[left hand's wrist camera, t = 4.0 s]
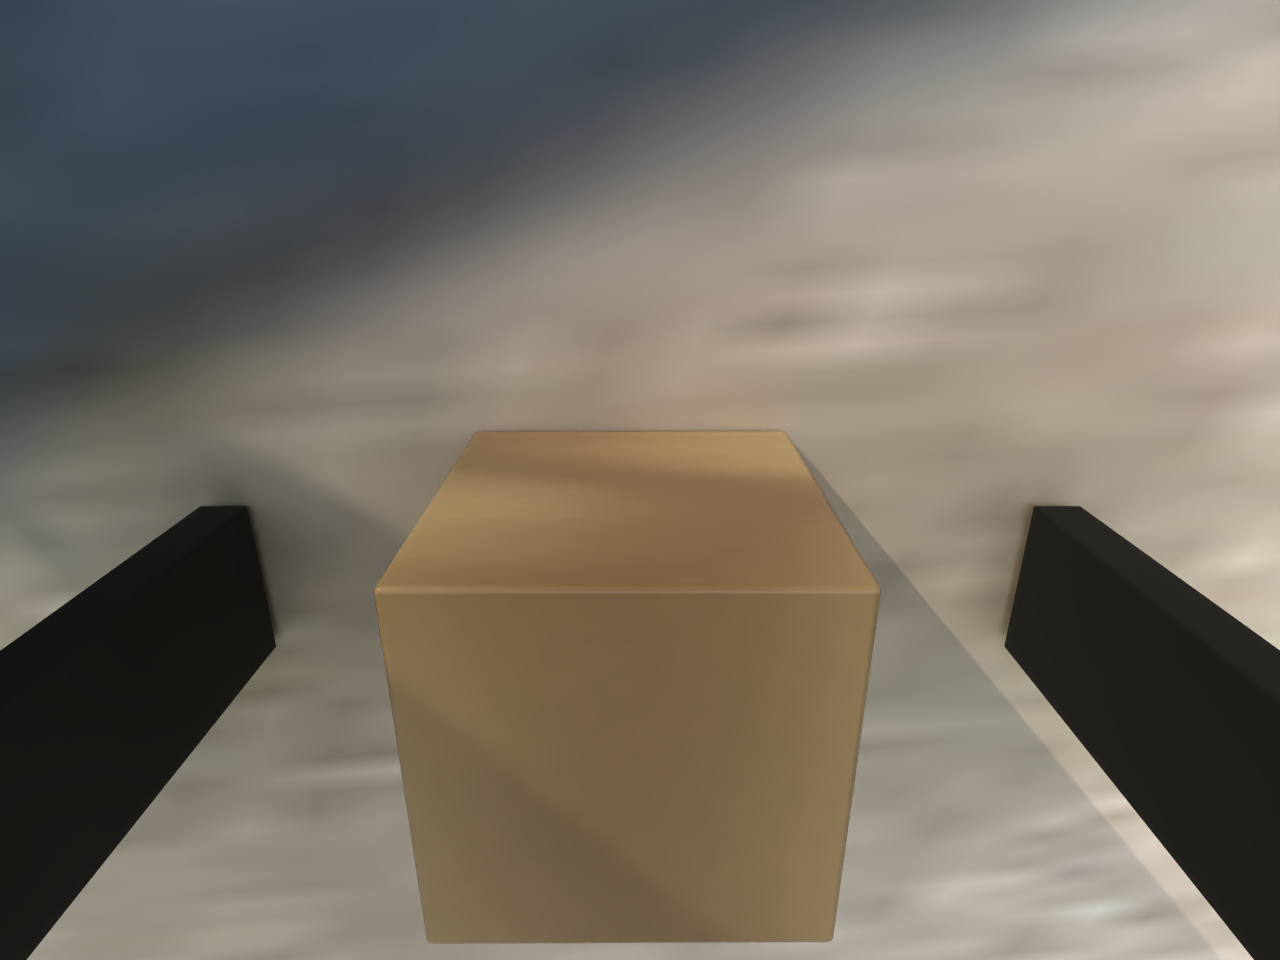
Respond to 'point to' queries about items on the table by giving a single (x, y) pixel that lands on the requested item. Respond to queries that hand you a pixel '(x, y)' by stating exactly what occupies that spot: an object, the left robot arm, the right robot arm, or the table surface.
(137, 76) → the table surface
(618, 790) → the block
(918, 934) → the table surface
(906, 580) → the table surface
